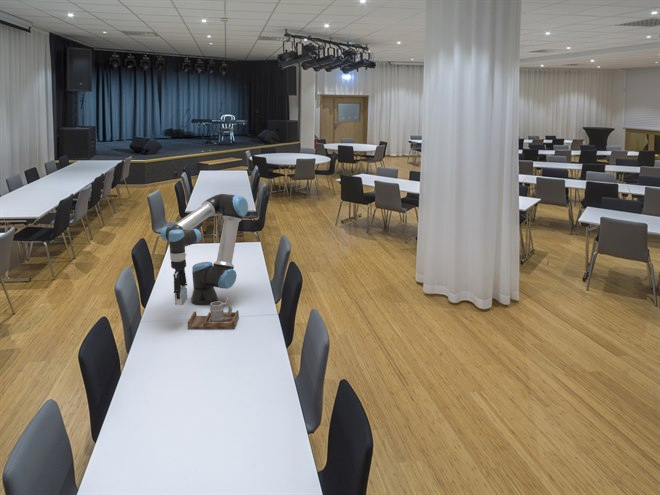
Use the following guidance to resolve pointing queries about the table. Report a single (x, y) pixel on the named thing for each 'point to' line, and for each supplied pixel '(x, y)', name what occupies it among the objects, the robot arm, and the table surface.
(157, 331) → the table surface
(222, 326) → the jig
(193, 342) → the table surface
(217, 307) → the mug
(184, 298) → the blue-grey rectangular block
